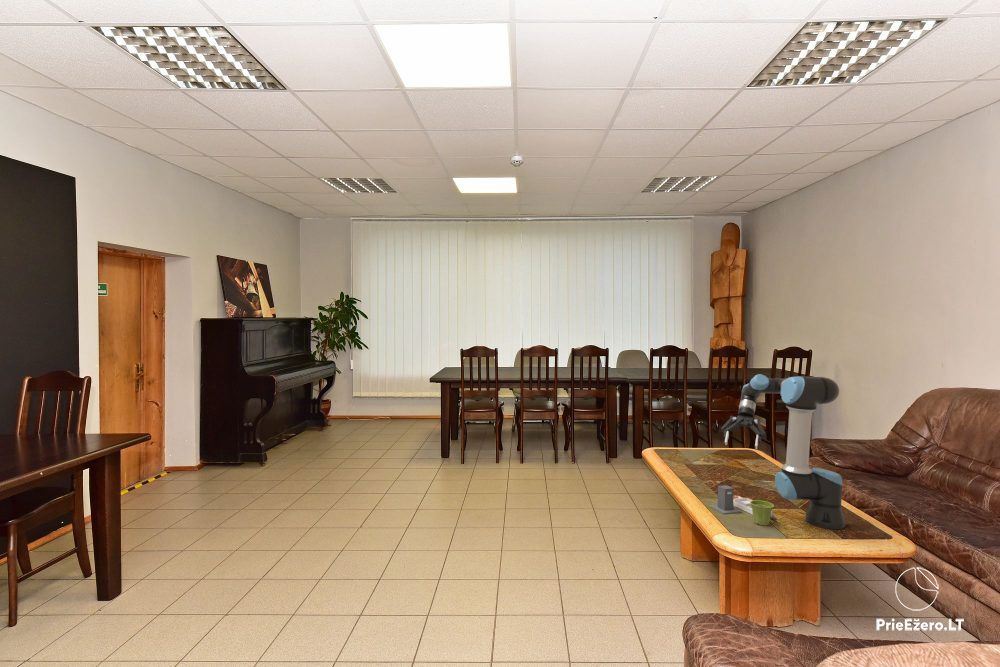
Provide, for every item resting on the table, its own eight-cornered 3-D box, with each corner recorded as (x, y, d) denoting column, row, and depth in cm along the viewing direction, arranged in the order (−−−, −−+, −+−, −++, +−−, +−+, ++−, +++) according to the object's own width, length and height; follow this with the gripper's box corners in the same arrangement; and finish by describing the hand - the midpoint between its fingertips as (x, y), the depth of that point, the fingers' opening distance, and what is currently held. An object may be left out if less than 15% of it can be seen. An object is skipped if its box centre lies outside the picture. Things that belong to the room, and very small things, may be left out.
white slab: (783, 520, 240) (783, 513, 240) (768, 522, 238) (768, 515, 238) (738, 499, 267) (738, 493, 267) (724, 501, 265) (724, 494, 265)
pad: (741, 512, 250) (741, 511, 250) (723, 514, 247) (723, 513, 247) (726, 505, 259) (726, 503, 259) (709, 506, 256) (709, 505, 256)
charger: (733, 509, 251) (734, 488, 251) (724, 510, 250) (725, 489, 250) (725, 506, 256) (726, 485, 256) (717, 507, 255) (718, 485, 254)
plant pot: (745, 518, 242) (746, 499, 242) (767, 519, 241) (767, 500, 241) (754, 526, 232) (755, 506, 232) (777, 527, 232) (777, 507, 232)
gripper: (774, 418, 271) (769, 453, 259) (721, 412, 285) (714, 446, 273) (773, 408, 267) (768, 444, 254) (719, 403, 280) (712, 437, 268)
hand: (740, 445), depth 263 cm, fingers open, 13 cm apart
